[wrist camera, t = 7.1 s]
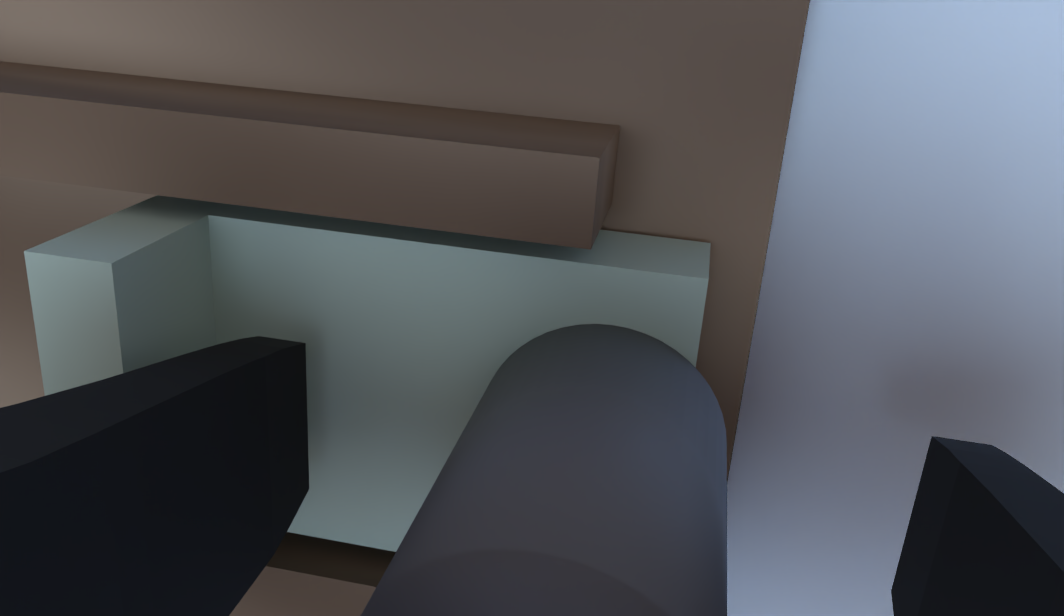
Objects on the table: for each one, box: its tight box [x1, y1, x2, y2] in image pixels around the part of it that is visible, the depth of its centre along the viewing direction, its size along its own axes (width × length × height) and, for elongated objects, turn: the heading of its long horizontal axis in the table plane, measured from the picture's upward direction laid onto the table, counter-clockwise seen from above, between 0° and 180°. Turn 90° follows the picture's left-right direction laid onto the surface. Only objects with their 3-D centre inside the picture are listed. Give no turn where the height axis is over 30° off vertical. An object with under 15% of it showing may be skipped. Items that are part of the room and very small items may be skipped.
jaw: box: [24, 195, 727, 616], centre depth 10 cm, size 4×8×6 cm, turn 86°
